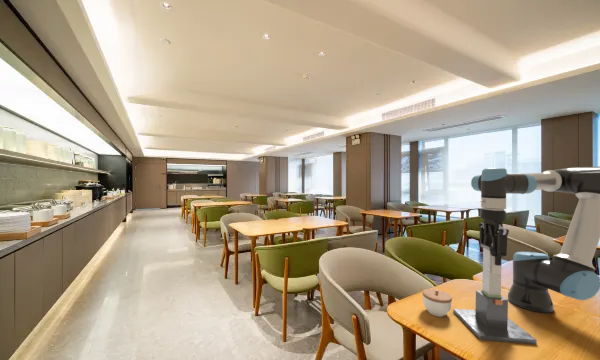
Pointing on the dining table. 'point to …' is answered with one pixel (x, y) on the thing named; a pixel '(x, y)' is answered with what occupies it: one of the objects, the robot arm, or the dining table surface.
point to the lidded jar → (437, 302)
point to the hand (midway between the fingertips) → (491, 270)
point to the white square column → (490, 274)
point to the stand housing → (493, 321)
